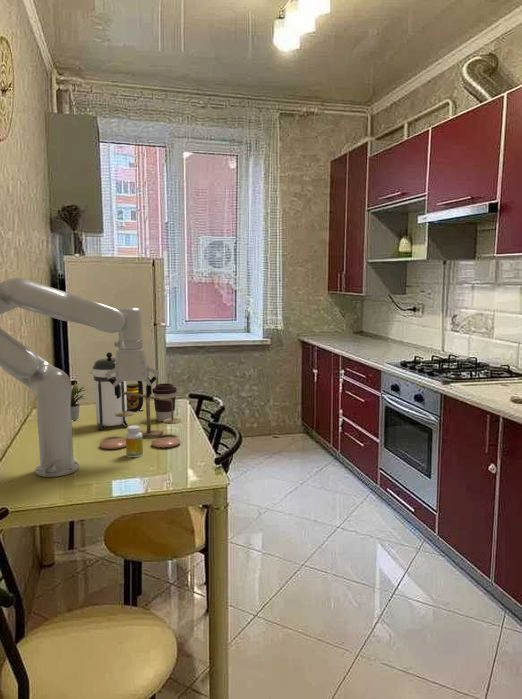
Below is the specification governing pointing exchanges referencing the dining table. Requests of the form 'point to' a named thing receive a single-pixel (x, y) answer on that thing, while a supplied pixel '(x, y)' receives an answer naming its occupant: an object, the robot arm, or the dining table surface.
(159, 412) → the coffee cup
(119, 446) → the pink disc
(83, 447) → the dining table surface
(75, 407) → the house plant
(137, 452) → the supplement bottle
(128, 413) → the balance
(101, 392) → the coffee press
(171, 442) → the tan flat disc
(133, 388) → the condiment
